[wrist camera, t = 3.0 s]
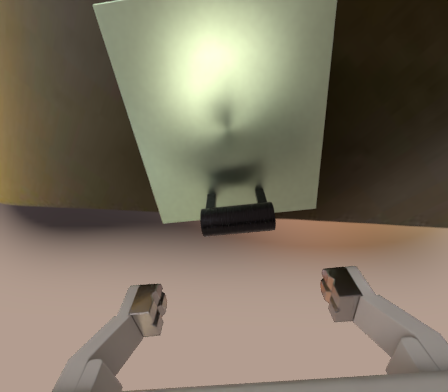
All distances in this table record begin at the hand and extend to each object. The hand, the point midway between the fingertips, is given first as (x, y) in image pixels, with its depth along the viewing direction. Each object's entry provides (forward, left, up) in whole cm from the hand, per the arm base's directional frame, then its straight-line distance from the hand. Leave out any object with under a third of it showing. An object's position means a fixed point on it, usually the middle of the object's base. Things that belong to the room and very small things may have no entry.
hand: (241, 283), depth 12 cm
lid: (0, -6, -10) cm, 11 cm away
